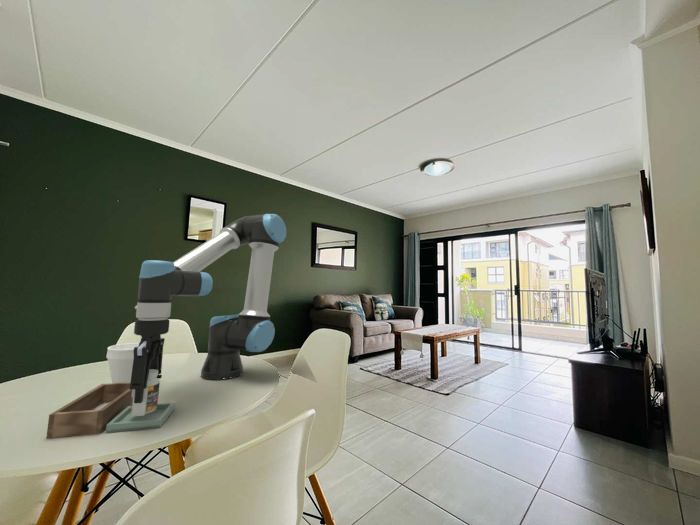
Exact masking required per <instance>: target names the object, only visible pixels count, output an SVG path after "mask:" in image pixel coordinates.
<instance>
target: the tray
mask: <svg viewBox="0 0 700 525" xmlns="http://www.w3.org/2000/svg"><path fill="white" fill-rule="evenodd" d="M175 404H176V402H163V403H162V402H161V403H157V408H156V410H155V411H153V412H151V413H148V414H145V415H144V416H133V417H131V414H130V406H128V407H127V408H126V409H124V410H123V411H122V412H121V413H120V414H119V415H117V416H116V417H115V418H114V419H113V420H112V421H111V422H109V423H108V424H107V426H106V429H105V433H106V434H107V433H110V434H111V433H120V432H129V431H139V430H140V431H141V430H150V429H160V428H162V426H163V425H162V424H164V423H165V422H166V421H167V420H168V418H169V417H170V415H171V414H172V413H173V412H174V410H175ZM171 412H172V413H171ZM168 416H169V417H168ZM165 420H166V421H165ZM161 425H162V426H161Z"/></svg>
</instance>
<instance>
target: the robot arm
mask: <svg viewBox="0 0 700 525" xmlns="http://www.w3.org/2000/svg"><path fill="white" fill-rule="evenodd" d="M286 238H287V227H286V224H285V221H284V220H283V219H282V217H281V216H279V215H278V214H276V213H265V214H255V215H247V216H246V215H244V216H242V217H240V218H238V219H236V220H234V221H233V222H231V223H229V224H228V225H226V226H224V227H222V228H221V229H220V231H219V233H218V234H216V235H215V236H213V237H211V238H209V239H208V240H206V241H205V242H204V243H202V244H200V245H199V246H196V248H194V249H192V250H190V251H189V252H187V253H186V254H183V255H182V256H181V257H179V258H178V259H176V260H175V261H168V260H167V261H166V260H155V259H154V260H153V259H151V260H149V259H148V260H144V261H143V262H142V264H141V268H140V273H139V276H138V279H139V281H138V289H137V290H138V291H137V293H138V294H137V303H136V305H135V306H134V309H135V310H136V312H135V317H136V318H137V319H136V320H135V321H134V327H133V328H134V330H133V334H134V335H136V336H140V342H138V343H139V346H138V347H134V360H133V367H132V375H131V383H130V387H129V389H130V390H133V389H134V395H133V405H132V414H131V417H133V416H144V415H145V413H146V403H147V393H148V387H147V381H148V376H149V371H150V369H156V370H158V376H157V378H158V379H162V377H163V375H162V368H163V357H164V356H163V354H164V353H163V352H164V345H165V339H166V338H165V337H162V336H161V335H165V334H167V333H169V331H170V330H169V329H170V319H169V318H170V317H171V312H172V311H171V310H172V298H173V297H201V296H202V297H203V296H208V295H209V294H210V292H211V291H212V290H213V284H214V283H213V282H214V280H213V278H212V276H211V275H210V274H209V273H208V272H205V271H204V272H203V270H204V269H205V268H208V266H210V265H211V264H213V263H214V262H215V261H217V260H218V259H220V258H221V257H223V255H225V254H227V253H228V252H229V251H231V250H236V249H238V248H239V247H241V246H245V245H248V246H249V247H250V248H251V254H250V255H251V256H250V263H249V271H248V276H247V277H248V278H247V284H246V291H245V298H244V304H243V309H242V311H241V312H240V313H238V314H230V315H219V316H217V315H216V316H213V317H211V319H210V322H209V326H208V343H207V344H208V345H207V355H206V358H205V360H204V363H203V365H202V367H201V370H200V371H201V372H200V378H202V377H203V378H202V379H204V378H206V379H205V380H209V379H222V380H224V379H223V378H229V379H231V378H230V377H234V376H237V375H239V376H241V375H242V374H243V373H242V372H244V366H243V361H242V358H241V355H240V354H241V353H240V351H246V352H249V353H261V352H264V351H265V350H267V349H268V347H269V346H271V344H272V342H273V340H274V337H275V335H276V334H275V332H276V329H275V325H274V323H273V322H272V321H271V315H270V314H269V313H268V304H269V296H270V291H271V290H270V288H271V282H272V272H273V263H274V256H275V252H277V251H278V250H279V249H280V243H283V242H284V241H285V240H286ZM241 373H242V374H241ZM240 374H241V375H240ZM237 377H238V376H237ZM234 378H235V377H234Z"/></svg>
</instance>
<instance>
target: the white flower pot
mask: <svg viewBox="0 0 700 525" xmlns="http://www.w3.org/2000/svg"><path fill="white" fill-rule="evenodd" d="M139 343H140V342H126V343H119V344H114V345H110V346H108V347H107V348H106V349H107V351H106V357H105V358H106V359H107V362H108V367H109V372H110V377H111V383H128V382H131V375H132V367H133V360H134V347H138V346H139Z"/></svg>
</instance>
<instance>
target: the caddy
mask: <svg viewBox="0 0 700 525" xmlns="http://www.w3.org/2000/svg"><path fill="white" fill-rule="evenodd" d="M130 383H131V382H128V383H112V382H111V383H101V384H99V385H98V386H96V387H95V388H92V389H90V390H89V391H87V392H86V393H84V394H82V395H81V396H78V397H77V398H75V399H73V400H72V401H70V402H68V403H66V405H64V406H62V407H61V408H59V409H57V410H55V411H53V412H52V413H50V414H49V415H48V421H47V422H48V423H47V429H46V430H47V431H46V438H45V439H55V438H66V437H76V436H88V435H97V434H102V433H103V432H104V431H106V426H107V424H108V423H109V422H111V421H112V420H113V419H114V418H115V417H116V416H117V415H119V414H120V413H121V412H122V411H123V410H124V409H126V408H127V407H128V406H130V404H131V395H132V390H130V389H129V387H130ZM103 403H107V404H106V405H105V406H103V407H101V408H100V409H96V408H97V407H98V406H99V405H102V404H103Z"/></svg>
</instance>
